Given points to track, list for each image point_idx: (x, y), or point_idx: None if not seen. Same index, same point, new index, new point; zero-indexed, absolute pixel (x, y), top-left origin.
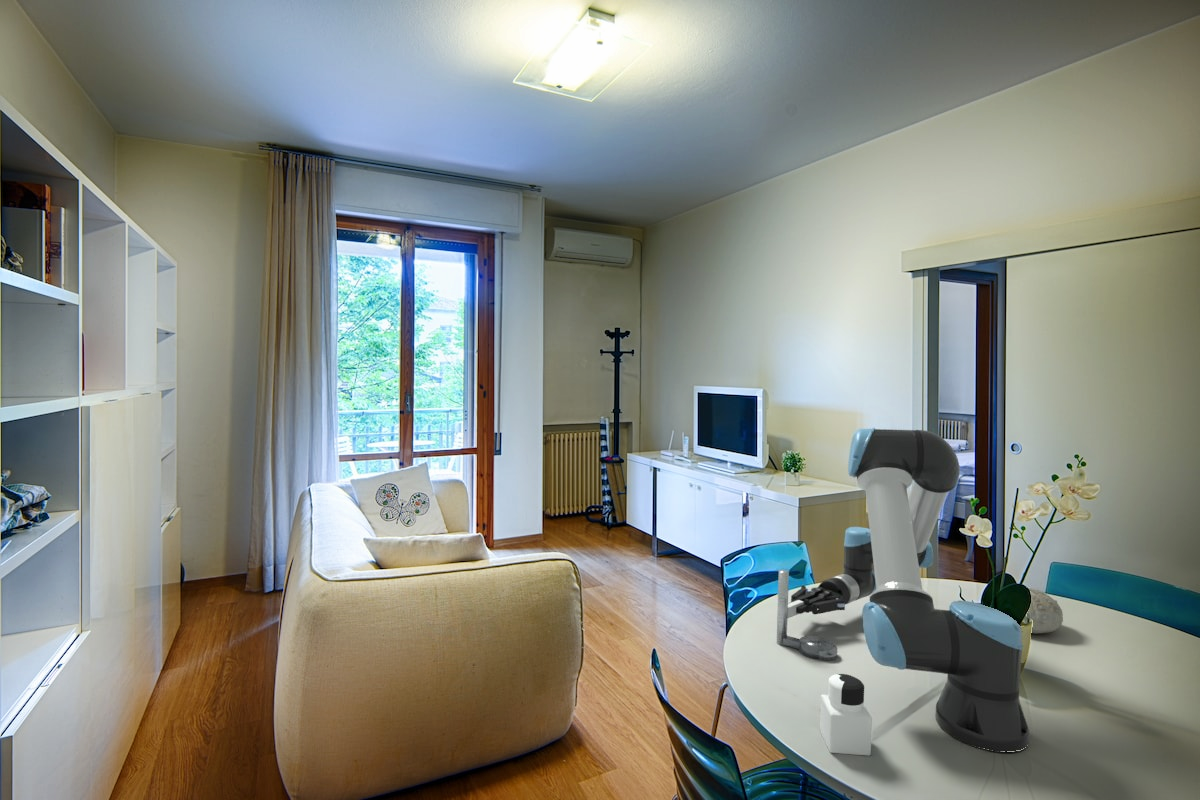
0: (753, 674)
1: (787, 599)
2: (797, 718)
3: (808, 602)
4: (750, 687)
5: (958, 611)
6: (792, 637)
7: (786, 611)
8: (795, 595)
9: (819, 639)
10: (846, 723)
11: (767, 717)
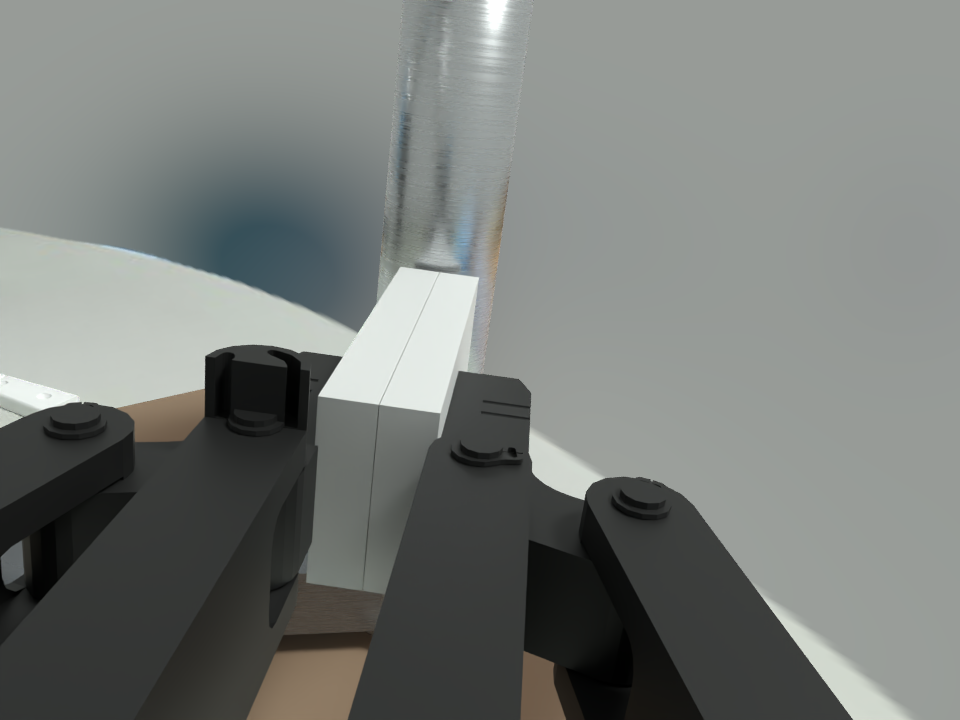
0: None
1: (392, 122)
2: (64, 290)
3: (218, 396)
4: (315, 340)
5: None
6: (304, 565)
7: (382, 265)
8: (654, 547)
9: None
10: None
11: (175, 277)
